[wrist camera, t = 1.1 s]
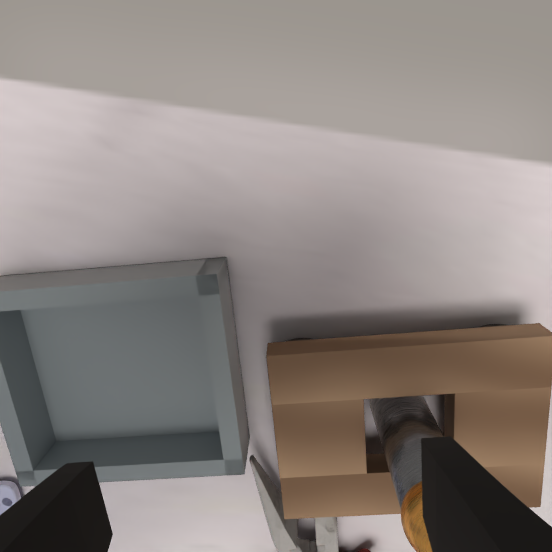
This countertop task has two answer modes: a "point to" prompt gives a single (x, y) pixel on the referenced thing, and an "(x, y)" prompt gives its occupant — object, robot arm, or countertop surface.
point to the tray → (122, 372)
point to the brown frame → (399, 383)
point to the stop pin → (406, 456)
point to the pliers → (292, 520)
